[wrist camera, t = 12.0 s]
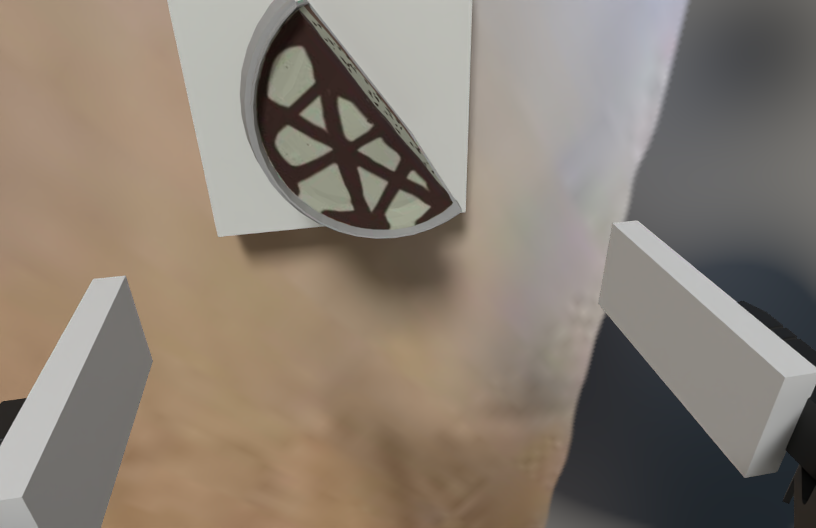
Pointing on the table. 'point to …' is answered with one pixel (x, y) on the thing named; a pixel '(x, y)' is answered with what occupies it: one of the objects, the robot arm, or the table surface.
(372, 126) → the food container
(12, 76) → the table surface
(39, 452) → the robot arm
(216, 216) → the stand
